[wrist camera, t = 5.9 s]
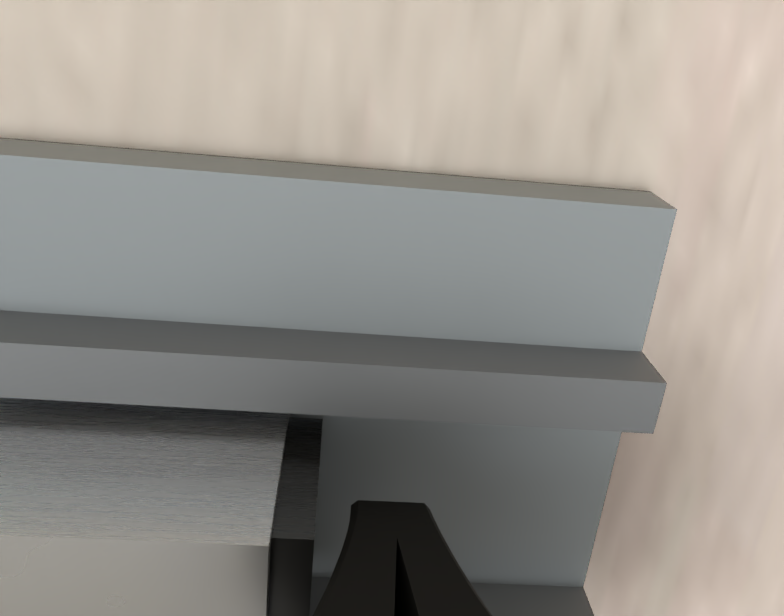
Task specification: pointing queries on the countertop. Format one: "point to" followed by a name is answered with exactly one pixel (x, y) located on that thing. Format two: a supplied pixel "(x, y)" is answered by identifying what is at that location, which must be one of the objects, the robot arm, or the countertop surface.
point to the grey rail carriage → (155, 510)
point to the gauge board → (355, 332)
